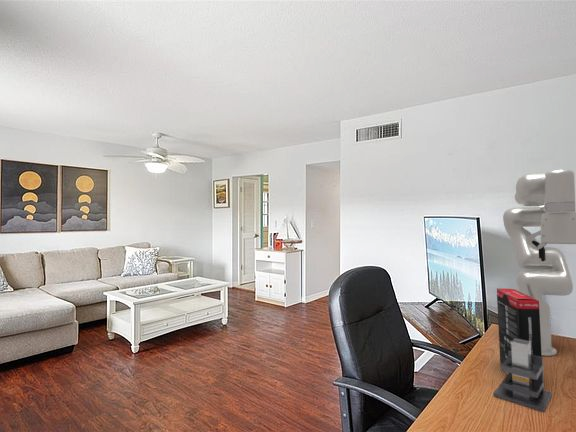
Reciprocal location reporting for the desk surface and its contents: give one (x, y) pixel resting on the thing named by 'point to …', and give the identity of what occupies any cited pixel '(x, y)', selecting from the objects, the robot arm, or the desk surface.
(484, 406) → the desk surface
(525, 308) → the graphics card box
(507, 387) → the collar stand
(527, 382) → the silver square metal bar
